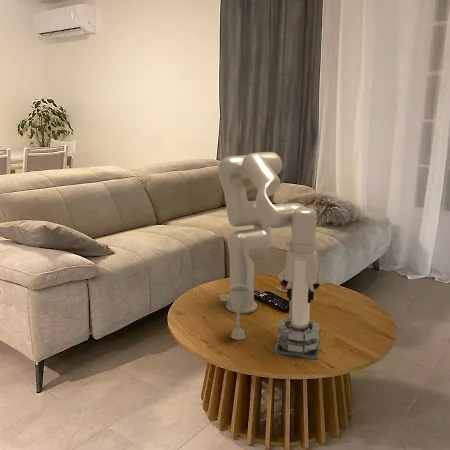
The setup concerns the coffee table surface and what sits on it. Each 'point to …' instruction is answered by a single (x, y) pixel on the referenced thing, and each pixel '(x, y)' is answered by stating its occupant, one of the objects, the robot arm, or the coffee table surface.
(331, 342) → the coffee table surface
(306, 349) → the collar stand
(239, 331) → the chalice
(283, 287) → the apple
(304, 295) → the silver metal cylinder
